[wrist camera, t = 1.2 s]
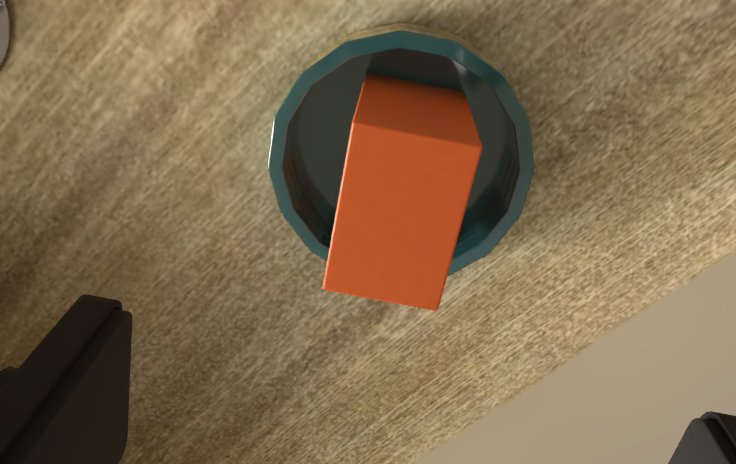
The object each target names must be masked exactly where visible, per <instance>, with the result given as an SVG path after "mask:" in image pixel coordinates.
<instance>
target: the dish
mask: <svg viewBox="0 0 736 464" xmlns="http://www.w3.org/2000/svg"><path fill="white" fill-rule="evenodd" d="M366 73H372V74H377V75H382V76H387V77H392V78H397V79H402V80H407V81H412V82H417V83H422V84H427V85H432V86H437V87H442V88H447V89H452V90H457V91H462V92H464V93H465V96H466V99H467V102H468V105H469V108H470V111H471V114H472V117H473V120H474V123H475V126H476V129H477V132H478V135H479V138H480V141H481V144H482V151H481V155H480V159H479V162H478V166H477V169H476V173H475V177H474V180H473V184H472V188H471V191H470V195H469V198H468V202H467V206H466V209H465V213H464V217H463V220H462V224H461V228H460V231H459V235H458V238H457V242H456V246H455V249H454V253H453V257H452V260H451V264H450V267H449V271H448V275H447V276H449V275H451V274H453V273H455V272H456V271H458V270H460V269H462V268H464V267H466V266H467V265H469V264H471V263H473V262H475V261H477V260H478V259H480V258H482V257H484V256H486V255H487V254H488V253H490V252H491V250H492V249H493V248H494V247H495V246H496V244H497V243H498V242H499V241H500V240H501V239H502V237H503V236H504V235H505V234H506V233H507V231H508V230H509V229H510V228H511V227H512V226H513V224H514V223H515V222H516V221H517V220H518V218H519V216H520V215H521V212H522V209H523V206H524V203H525V199H526V196H527V193H528V190H529V187H530V184H531V180H532V177H533V174H534V169H535V164H534V155H533V146H532V137H531V128H530V120H529V117H528V115H527V114H526V112H525V110H524V109H523V107H522V105H521V104H520V102H519V100H518V98H517V97H516V95H515V93H514V92H513V90H512V88H511V87H510V85H509V83H508V82H507V80H506V78H505V77H504V75H503V73H502V72H501V70H500V69H499V67H498V65H497V64H496V63H495V62H494V61H492V60H491V59H490V58H488V57H487V56H486V55H484V54H483V53H482V52H481V51H479V50H478V49H477V48H476V47H474V46H473V45H471V44H470V43H468V42H466V41H465V40H463V39H461V38H460V37H458V36H457V35H456V34H453V33H450V32H446V31H444V30H440V29H436V28H433V27H429V26H423V25H416V24H406V23H402V24H401V23H397V24H388V25H381V26H375V27H372V28H368V29H365V30H361V31H358V32H355V33H351V34H348V35H347V36H346V37H344V38H343V39H341V40H340V41H338V42H336V43H335V44H333V45H331V46H330V47H329V48H327V49H326V50H325V51H324V52H322V53H321V54H320V55H319V56H317V57H316V58H315V59H313V60H312V61H310V62H309V63H308V64H307V65H306V67H305V68H304V69H303V71H302V72H301V74H300V75H299V77H298V78H297V80H296V82H295V83H294V85H293V87H292V88H291V90H290V92H289V93H288V95H287V97H286V98H285V100H284V102H283V103H282V105H281V107H280V108H279V110H278V112H277V113H276V115H275V117H274V120H273V128H272V136H271V144H270V152H269V160H268V171H269V174H270V178H271V181H272V184H273V188H274V191H275V195H276V198H277V202H278V205H279V208H280V212H281V213H282V216H283V217H284V218H285V219H286V221H287V222H288V223H289V224H290V226H291V227H292V228H293V229H294V231H295V232H296V233H297V235H298V236H299V237H300V238H301V240H302V241H303V242H304V243H305V245H306V246H307V247H308V248H309V250H310V251H312V252H313V253H314V254H316V255H318V256H319V257H321V258H323V259H324V260H326V261H327V259H328V253H329V248H330V242H331V236H332V231H333V225H334V220H335V214H336V209H337V203H338V197H339V192H340V186H341V181H342V175H343V169H344V164H345V158H346V153H347V147H348V142H349V136H350V130H351V125H352V120H353V117H354V113H355V110H356V106H357V103H358V99H359V96H360V92H361V89H362V85H363V82H364V78H365V75H366Z"/></svg>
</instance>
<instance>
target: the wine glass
mask: <svg viewBox="0 0 736 464" xmlns="http://www.w3.org/2000/svg"><path fill="white" fill-rule="evenodd" d="M9 39H10V19H9V11H8V7H7V3H6V0H0V66H1V64H2V62H3V60H4V58H5V56H6V53H7V49H8V45H9Z"/></svg>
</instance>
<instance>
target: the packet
mask: <svg viewBox="0 0 736 464" xmlns="http://www.w3.org/2000/svg"><path fill="white" fill-rule="evenodd" d="M481 151H482V144H481V141H480V138H479V135H478V132H477V129H476V126H475V123H474V120H473V117H472V114H471V111H470V108H469V105H468V102H467V99H466V96H465V93H464V92H462V91H457V90H452V89H447V88H442V87H437V86H432V85H427V84H422V83H417V82H412V81H407V80H402V79H397V78H392V77H387V76H382V75H377V74H372V73H366V75H365V78H364V82H363V85H362V89H361V92H360V96H359V99H358V103H357V106H356V110H355V113H354V117H353V120H352V125H351V130H350V136H349V142H348V147H347V153H346V158H345V164H344V169H343V175H342V181H341V186H340V192H339V197H338V203H337V209H336V214H335V220H334V225H333V231H332V236H331V242H330V248H329V253H328V259H327V264H326V270H325V276H324V281H323V289H324V290H328V291H333V292H339V293H344V294H349V295H355V296H360V297H365V298H370V299H376V300H381V301H386V302H392V303H397V304H402V305H407V306H413V307H418V308H423V309H429V310H434V311H437V309H438V307H439V304H440V300H441V297H442V293H443V289H444V286H445V282H446V278H447V275H448V271H449V267H450V264H451V260H452V257H453V253H454V249H455V246H456V242H457V238H458V235H459V231H460V228H461V224H462V220H463V217H464V213H465V209H466V206H467V202H468V198H469V195H470V191H471V188H472V184H473V180H474V177H475V173H476V169H477V166H478V162H479V159H480V155H481Z"/></svg>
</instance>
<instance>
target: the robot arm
mask: <svg viewBox="0 0 736 464" xmlns="http://www.w3.org/2000/svg"><path fill="white" fill-rule="evenodd" d="M131 340H132V314H131V312H128V311H123V310H122V304H121V302H120V301H119V300H113V299H108V298H103V297H97V296H92V295H87V294H84V295H82V296H80V297H79V298H78V299H77V301H76V302H75V303H74V304H73V305H72V306H71V308H70V309H69V310H68V311H67V312H66V313H65V314H64V316H63V317H62V318H61V319H60V320H59V321H58V323H57V324H56V325H55V326H54V327H53V328H52V330H51V331H50V332H49V333H48V334H47V335H46V337H45V338H44V339H43V340H42V341H41V342H40V343H39V345H38V346H37V347H36V348H35V349H34V350H33V352H32V353H31V354H30V355H29V356H28V357H27V359H26V360H25V361H24V362H23V363H22V364H21V366H20V367H19V368H15V367H6V368H4V369H2V370H1V371H0V464H119V463H120V461H121V459H122V456H123V453H124V450H125V447H126V442H127V435H128V411H129V388H130V364H131ZM668 464H736V416H732V415H727V414H722V413H716V412H706V413H705V414H703V415H702V416H701V417H700V418H696V419H694V420H692V421H691V423H690V424H689V426H688V428H687V429H686V431H685V433H684V435H683V437H682V439H681V441H680V443H679V445H678V447H677V448H676V450H675V452H674V454H673V456H672V458H671V459H670V461H669V463H668Z"/></svg>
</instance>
